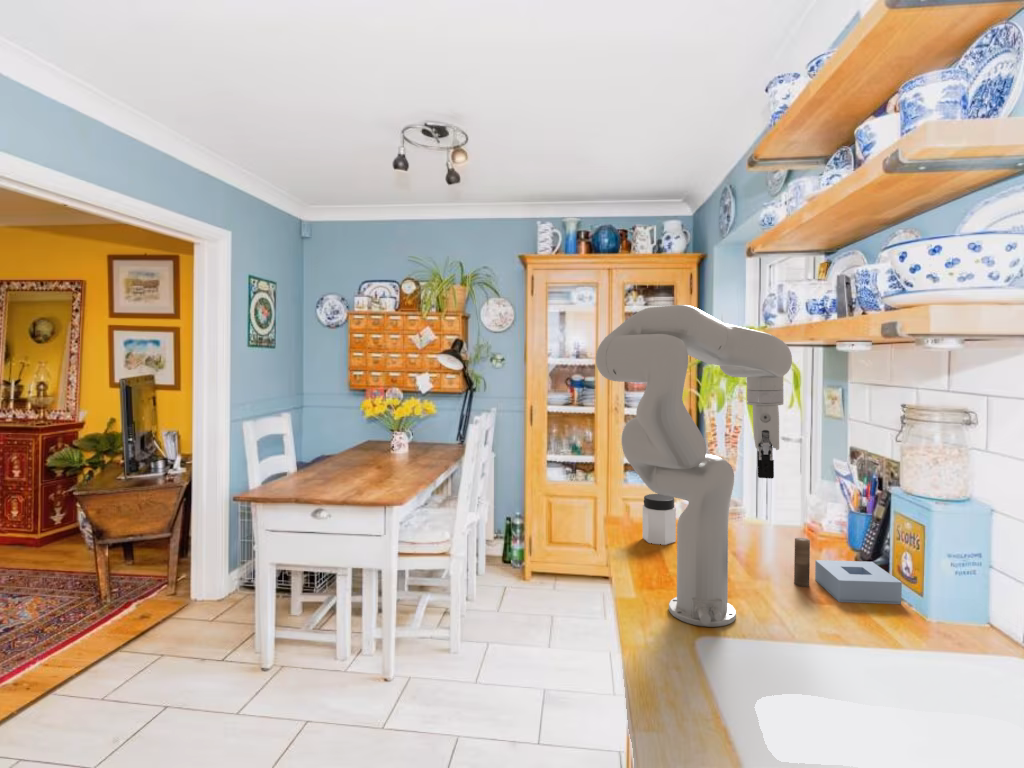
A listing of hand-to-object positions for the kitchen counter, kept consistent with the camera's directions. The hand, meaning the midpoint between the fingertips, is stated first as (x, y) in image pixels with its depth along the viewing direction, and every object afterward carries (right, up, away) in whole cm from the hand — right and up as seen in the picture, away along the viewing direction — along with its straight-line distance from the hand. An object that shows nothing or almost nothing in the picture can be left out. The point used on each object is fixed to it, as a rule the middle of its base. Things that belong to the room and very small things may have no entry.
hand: (765, 473), depth 131 cm
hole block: (+17, -24, -7) cm, 30 cm away
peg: (+7, -24, -3) cm, 25 cm away
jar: (-17, -23, +29) cm, 41 cm away
